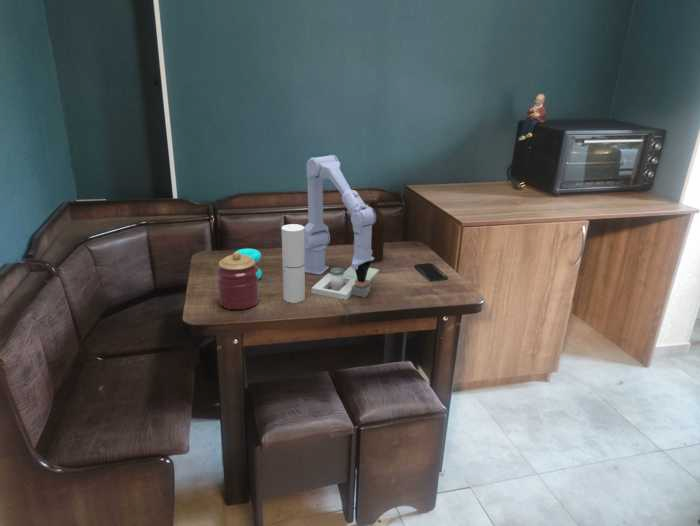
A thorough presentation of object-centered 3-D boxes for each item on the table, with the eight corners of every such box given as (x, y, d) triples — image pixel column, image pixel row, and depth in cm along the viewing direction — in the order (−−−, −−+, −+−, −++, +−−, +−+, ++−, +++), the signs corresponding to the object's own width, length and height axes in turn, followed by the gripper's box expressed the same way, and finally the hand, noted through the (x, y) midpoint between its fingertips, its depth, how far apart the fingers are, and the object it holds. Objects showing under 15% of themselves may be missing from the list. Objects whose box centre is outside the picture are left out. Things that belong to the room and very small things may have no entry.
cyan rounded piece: (236, 259, 183) (229, 249, 191) (238, 285, 186) (230, 275, 195) (264, 255, 187) (256, 245, 195) (265, 280, 191) (257, 270, 199)
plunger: (352, 294, 181) (352, 282, 180) (357, 289, 185) (357, 277, 184) (364, 296, 180) (365, 284, 178) (369, 291, 184) (369, 279, 182)
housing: (311, 293, 182) (311, 285, 181) (328, 278, 194) (328, 270, 193) (360, 303, 176) (360, 294, 175) (374, 286, 188) (374, 279, 187)
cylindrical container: (296, 305, 173) (295, 232, 164) (279, 299, 177) (277, 228, 167) (309, 297, 179) (308, 226, 170) (292, 291, 182) (290, 222, 173)
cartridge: (327, 290, 184) (328, 271, 182) (333, 285, 189) (333, 266, 186) (340, 292, 183) (340, 273, 180) (345, 287, 187) (346, 268, 184)
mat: (340, 277, 195) (340, 275, 194) (352, 267, 204) (352, 264, 204) (369, 282, 191) (369, 280, 191) (379, 271, 200) (379, 269, 200)
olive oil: (389, 258, 214) (392, 198, 204) (373, 265, 206) (376, 203, 196) (368, 251, 220) (370, 193, 210) (352, 259, 212) (353, 198, 203)
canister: (261, 308, 170) (259, 257, 164) (220, 313, 167) (216, 261, 160) (256, 291, 182) (254, 243, 175) (218, 295, 178) (214, 246, 172)
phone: (431, 262, 208) (448, 277, 195) (431, 265, 209) (448, 280, 195) (412, 264, 206) (429, 280, 193) (412, 267, 206) (429, 282, 193)
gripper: (366, 252, 168) (364, 291, 173) (381, 239, 181) (379, 275, 186) (345, 249, 171) (344, 287, 176) (361, 236, 183) (360, 272, 188)
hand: (361, 281), depth 181 cm, fingers closed, pressing on plunger
